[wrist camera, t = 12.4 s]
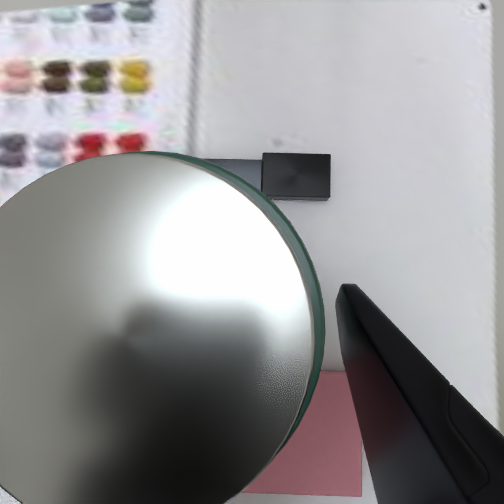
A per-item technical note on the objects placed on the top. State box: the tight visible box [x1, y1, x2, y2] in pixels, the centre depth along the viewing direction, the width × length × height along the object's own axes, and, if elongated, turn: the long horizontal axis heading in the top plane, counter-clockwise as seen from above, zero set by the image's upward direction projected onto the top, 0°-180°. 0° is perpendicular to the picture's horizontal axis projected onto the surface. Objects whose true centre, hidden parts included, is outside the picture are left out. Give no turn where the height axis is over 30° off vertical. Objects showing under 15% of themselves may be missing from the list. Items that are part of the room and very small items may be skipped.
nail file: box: [203, 153, 331, 201], centre depth 17 cm, size 3×12×1 cm, turn 88°
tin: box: [0, 151, 325, 504], centre depth 10 cm, size 6×6×13 cm
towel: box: [241, 371, 362, 497], centre depth 16 cm, size 7×16×1 cm, turn 88°
